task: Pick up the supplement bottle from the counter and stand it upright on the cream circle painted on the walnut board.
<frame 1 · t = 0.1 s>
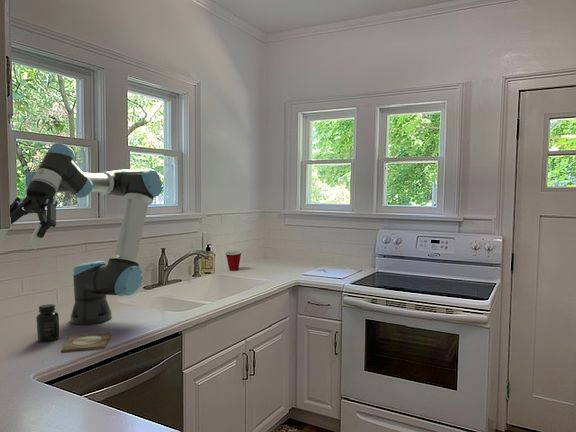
hand: (12, 246, 125), 36 cm above the worktop, tool tilted 35°, fingers open, 13 cm apart
board: (87, 343, 148), on the worktop
plastic cup: (233, 270, 283), on the worktop
supplement bottle: (48, 340, 153), on the worktop
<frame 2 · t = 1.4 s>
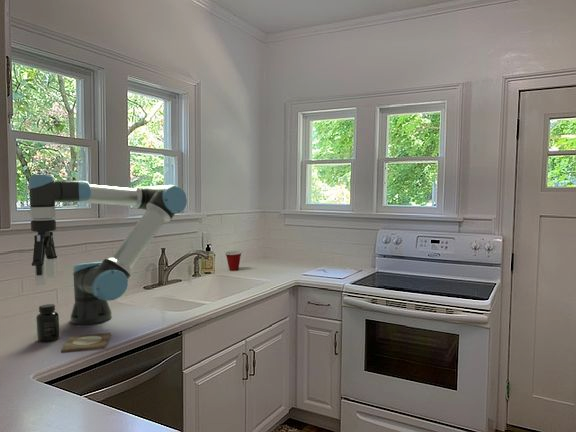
hand: (46, 280, 151), 21 cm above the worktop, tool pointing down, fingers open, 13 cm apart
nothing on the worktop moved.
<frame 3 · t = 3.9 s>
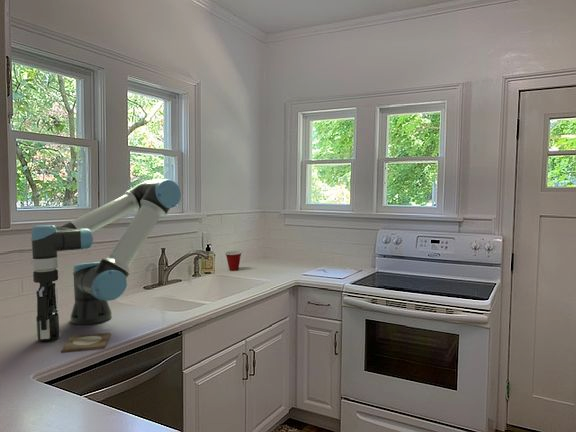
hand: (48, 335, 153), 2 cm above the worktop, tool pointing down, fingers closed on supplement bottle, 7 cm apart
supplement bottle: (48, 340, 153), on the worktop, touching gripper
everything else where it was.
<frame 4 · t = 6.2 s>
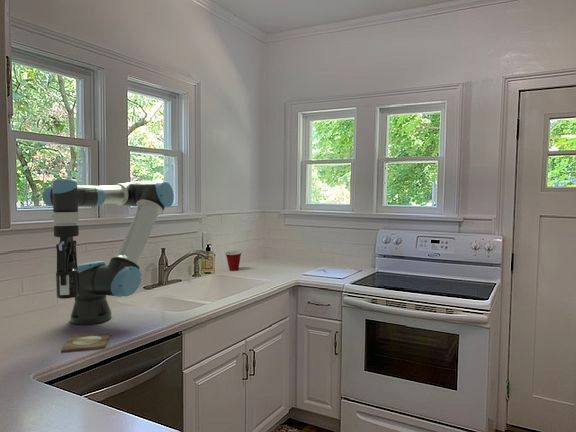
hand: (68, 292, 149), 17 cm above the worktop, tool pointing down, fingers closed on supplement bottle, 7 cm apart
supplement bottle: (68, 297, 149), point 16 cm above the worktop, touching gripper
everything else where it was.
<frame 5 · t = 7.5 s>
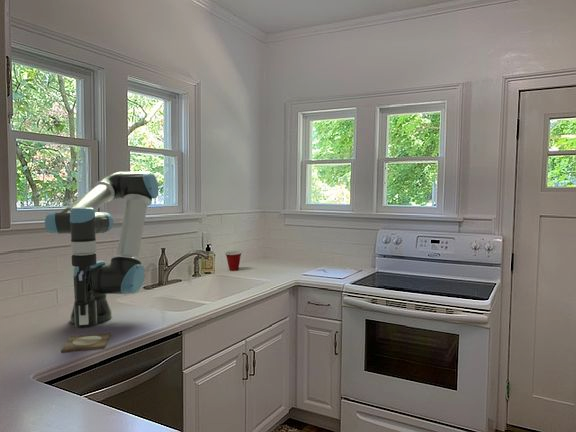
hand: (86, 321, 148), 8 cm above the worktop, tool pointing down, fingers closed on supplement bottle, 7 cm apart
supplement bottle: (86, 326, 148), point 6 cm above the worktop, touching gripper
everything else where it was.
when the fingers open (4 cm above the worktop, at t = 8.7 s): supplement bottle drops 1 cm, resting on board.
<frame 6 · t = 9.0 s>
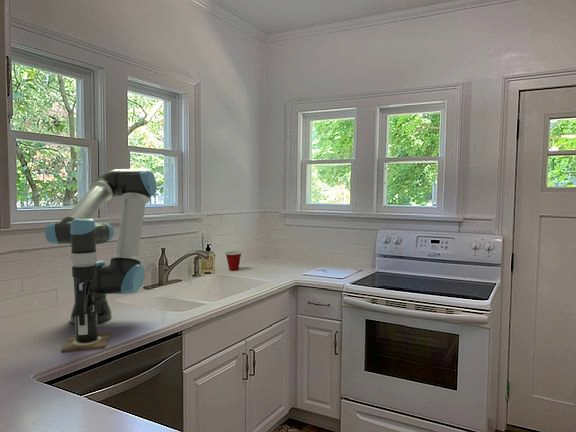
hand: (86, 328, 148), 5 cm above the worktop, tool pointing down, fingers open, 11 cm apart
supplement bottle: (87, 340, 148), point 1 cm above the worktop, touching board
everything else where it was.
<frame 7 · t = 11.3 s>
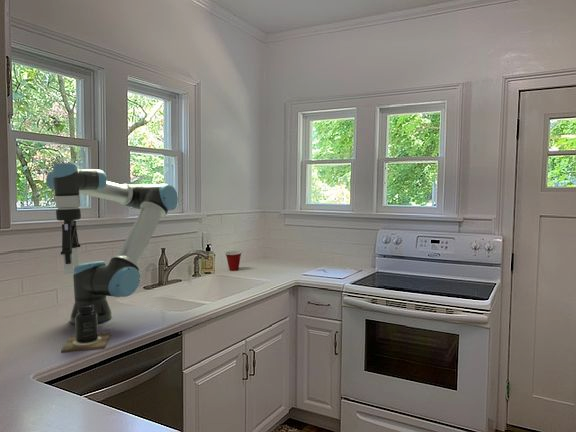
hand: (72, 269, 152), 24 cm above the worktop, tool pointing down, fingers open, 13 cm apart
nothing on the worktop moved.
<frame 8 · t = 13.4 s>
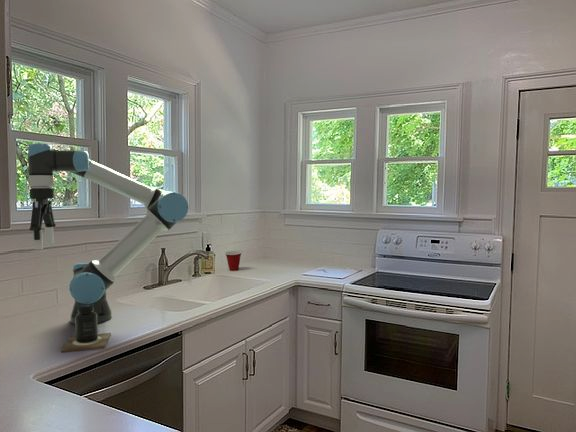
hand: (44, 247, 157), 32 cm above the worktop, tool pointing down, fingers open, 13 cm apart
nothing on the worktop moved.
at the end: supplement bottle 0.1 cm off-centre on the board, point 0.8 cm above the board's base; supplement bottle tilted 0°; the gripper is holding nothing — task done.
